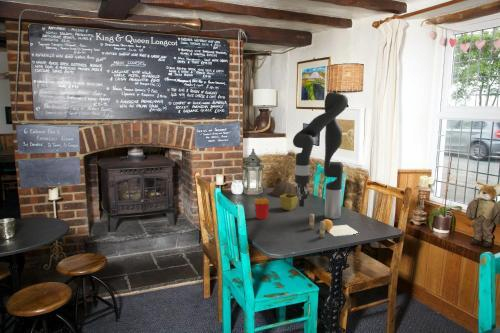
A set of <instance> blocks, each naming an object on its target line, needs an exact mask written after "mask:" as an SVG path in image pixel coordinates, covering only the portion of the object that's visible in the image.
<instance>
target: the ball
mask: <svg viewBox="0 0 500 333" xmlns="http://www.w3.org/2000/svg"><path fill="white" fill-rule="evenodd" d="M322 221H324V222H325V231H326V230H330V229H331V228H332V227H333V226H334V225H333V221H332V219H331V220H330V218H326V219H323V220H322Z"/></svg>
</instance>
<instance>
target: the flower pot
mask: <svg viewBox="0 0 500 333" xmlns="http://www.w3.org/2000/svg"><path fill="white" fill-rule="evenodd" d="M279 199H280V201H279V202H280V206H281V207H282V209H283V210H285V211H292V210H295V209H296V207H297V205H298V202H299V198H298V197H297V195H293V194H284V195H282V196H280V197H279Z"/></svg>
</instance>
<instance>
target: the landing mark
mask: <svg viewBox="0 0 500 333" xmlns="http://www.w3.org/2000/svg"><path fill="white" fill-rule="evenodd" d="M325 232H327V233H329V234H330V235H331V236H333V237H335V238H336V237H343V236H354V235H353V234H356V233H358V231H357V230H355V229H354V228H352V227H351V226H350V225H348V224H340V225H333V227H332V228H331V229H330V230H325ZM356 235H357V234H356Z"/></svg>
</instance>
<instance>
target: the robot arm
mask: <svg viewBox="0 0 500 333" xmlns="http://www.w3.org/2000/svg"><path fill="white" fill-rule="evenodd" d="M348 102H349V99H348V96H347V95H346V94H345V95H344V94H343V93H342V94H341V93H338V92H331V91H330V92H328V93H327V94H326V96H325V99H324V113H320V114H319V115H317V116H316V117H314V118H313V119H312V120H311V121H310V122H309V123H308V124H307V126H306V127H304V128H303V129H301V130H300V131H298V132H297V133H296V134H295V135H294V137H293V139H292V144H293V146H294V147H295V148H299V149H301V152H298V153H296V155H295V167H294V183H295V184H297V185H296V186H295V189H296V193H297V197H298V206H299V207H300V208H303V207H305V200H307V198H308V196H309V192H310V191H308V186H307V184H310V182H311V181H310V178H311V176H310V175H311V167H310V166H311V165H310V164H311V162H310V161H311V155H312V151H313V147H314V139H313V138H315V137H317V136H318V135H319V134H320V133H321V132H322V130H324V128H325V131H324V132H325V133H324V134H325V135H324V146H325V147H324V152H325V153H324V163H323V164H324V165H323V175H324V176H325V177H326V178H336V179H334V180H333V181H330V182H329V181H328V182H327V183H326V184H325V195H324V196H325V200H324V218H326V219H331V220H332V219H333V220H334V219H340V218H341V212H342V210H341V209H342V192H343V191H342V190H343V189H342V188H343V186H342V184H343V182H342V181H343V172H344V164H343V162H341V161H331V160H332V158H333V156H334V155H335V153H336V152H337V151H338V149H339V148H340V147H341V145H342V142H343V141H342V140H343V130H342V128H341V126H340V124H339V122H338V120H337V117H338V116H339V115H340V114H342V113H343V112H344V110H346V109H347V106H348Z"/></svg>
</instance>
